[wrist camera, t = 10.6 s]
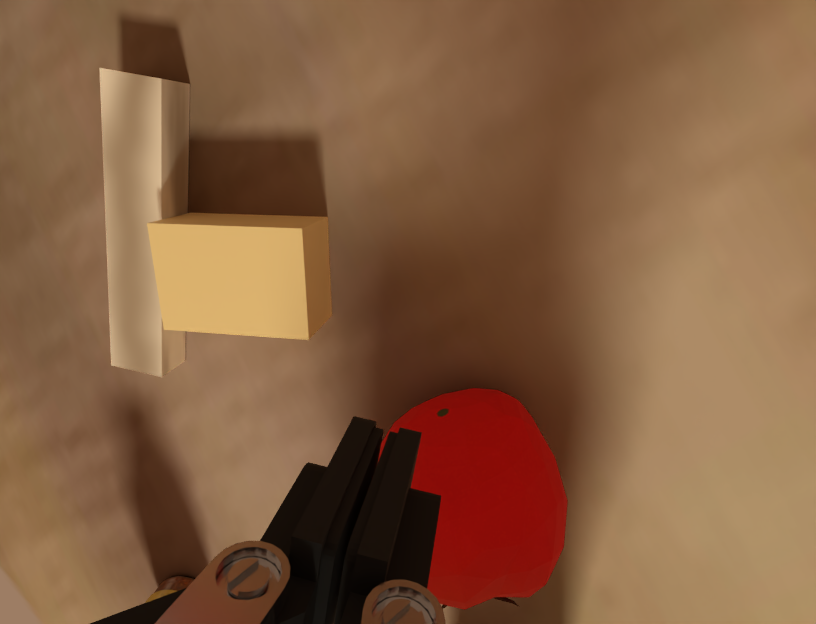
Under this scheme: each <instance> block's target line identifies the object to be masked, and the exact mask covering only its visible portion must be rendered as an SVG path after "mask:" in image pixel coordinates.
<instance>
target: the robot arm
mask: <svg viewBox="0 0 816 624" xmlns="http://www.w3.org/2000/svg"><path fill="white" fill-rule="evenodd" d="M421 435H422V432H418V431H414V430H409V429H405V428H401V427H400V428H399V431H398V433H396V432H391V431H390V432H389V435H388V437H387V440H386V443H385V445H384V448H383V451H382V454H381V456H380V459H379V454H380V448H381V442H382V437H383V429H379V428H376V421H372V420H367V419H363V418H359V417H353V419H352V421H351V423H350V425H349V427H348V429H347V430H346V432H345V434H344V436H343V438H342V440H341V442H340V444H339V446H338V448H337V450H336V452H335V454H334V455H333V457H332V459H331V461H330V463H329V465H328V467H325V466H321V465H317V464H313V463H309V462H308V463H307V464H306V465H305V466H304V468H303V469H302V471H301V473H300V474H299V476H298V478H297V479H296V481H295V483H294V484H293V486H292V488H291V489H290V491H289V493H288V495H287V496H286V498H285V500H284V501H283V503H282V505H281V506H280V508H279V510H278V511H277V513H276V515H275V516H274V518H273V520H272V522H271V523H270V525H269V527H268V528H267V530H266V532H265V533H264V535H263V537H262V538H261V540H260V541H245V542H241V543H236V544H234V545H232V546H230V547H228V548H226V549H224V550H223V551H222V552H220V553H219V554H218V555H217V556H216V557H215V558H214V559H213V560H212V561H211V562H210V563H209V564H208V565H207V566H206V567H205V569H204V570H203V571H202V572H201V573H200V574H199V575H198V576H197V577H196V579H195V580H194V581H193V582H192V583H191V584H190V585H189V586H188V587H187V588H184V589H182V590H179V591H176V592H174V593H171V594H168V595H166V596H163V597H160V598H158V599H155V600H152V601H150V602H147V603H144V604H141V605H139V606H136V607H133V608H131V609H128V610H125V611H123V612H120V613H117V614H115V615H112V616H109V617H107V618H104V619H101V620H99V621H96V622H93V623H90V624H446V623H445V617H444V612H443V608H442V606H441V605H440V603H439V601H438V599H437V598H436V597H435V596H434V595H433V594H432V593H431V592H430V591H429V590H428V589H427V587H428V580H429V574H430V567H431V561H432V555H433V548H434V542H435V535H436V529H437V523H438V516H439V510H440V503H441V495H437V494H433V493H429V492H425V491H421V490H417V489H413V488H411V484H412V479H413V474H414V469H415V464H416V459H417V455H418V450H419V445H420V440H421ZM378 460H379V462H378Z"/></svg>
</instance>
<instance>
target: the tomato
mask: <svg viewBox="0 0 816 624" xmlns="http://www.w3.org/2000/svg"><path fill="white" fill-rule="evenodd" d="M400 427H401V428H405V429H409V430H414V431H418V432H422V435H421V440H420V445H419V450H418V455H417V459H416V464H415V469H414V474H413V479H412V484H411V488H413V489H417V490H421V491H425V492H429V493H433V494H437V495H441V503H440V510H439V516H438V523H437V529H436V535H435V542H434V548H433V555H432V561H431V567H430V574H429V580H428V587H427V589H428V590H429V591H430V592H431V593H432V594H433V595H434V596H435V597H436V598H437V599H438V601H439V603H440V604H443V606H442V608H445V607H446V606H452V607H456V608H460V609H464V610H465V609H468V608H470V607H472V606H475V605H477V604H480V603H482V602H484V601H487V600H489V599H492V598H495V599H498V600H502V601H506V602H510V603H513V604H515V605H517V604H516V603H515V602H514V601H513V600H510V599H508V598H506V597H530V596H531V595H533V594H534V593H535V592H537V591H538V590H539V589H541V588H542V587H543V586H545V585H546V583H547V581H548V579H549V578H550V576H551V574H552V572H553V569H554V567H555V565H556V563H557V561H558V558H559V556H560V554H561V552H562V550H563V547H564V538H565V526H566V514H567V497H566V494H565V490H564V487H563V484H562V480H561V477H560V473H559V470H558V466H557V463H556V459H555V457H554V455H553V453H552V452H551V450H550V448H549V446H548V444H547V443H546V441H545V439H544V437H543V436H542V434H541V432H540V430H539V429H538V427H537V425H536V423H535V422H534V420H533V418H532V416H531V415H530V414H529V413H528V411H527V410H526V409H525V407H524V406H523V405H522V404H521V402H519V401H518V400H517V399H515V398H514V397H512V396H510V395H508V394H506V393H503V392H501V391H499V390H492V389H481V388H471V389H466V390H461V391H456V392H451V393H446V394H442V395H439V396H437V397H435V398H432V399H430V400H428V401H426V402H424V403H422V404H420V405H418V406H416V407H413V408H412V409H410V410H409V411H408V412H407V413H405V414H404V415H403V416H402V417H400V418H399V419H398V420H397V421H395V422H394V424H393V425H392V427H391V428H390V430H389V432H390V431H391V432H396V433H398V431H399V428H400ZM389 432H388V433H387V435H386V436H385V438H384V439H383V441H382V443H381V448H380V454H379V459H380V456H381V454H382V451H383V448H384V445H385V443H386V440H387V437H388V435H389ZM378 462H379V460H378ZM517 606H518V605H517Z"/></svg>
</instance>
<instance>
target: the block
mask: <svg viewBox="0 0 816 624" xmlns="http://www.w3.org/2000/svg"><path fill="white" fill-rule="evenodd" d="M147 227H148V234H149V240H150V246H151V252H152V259H153V265H154V271H155V278H156V284H157V290H158V297H159V303H160V309H161V315H162V322H163V328H164V330H175V331H190V332H204V333H218V334H232V335H247V336H261V337H275V338H290V339H304V340H309V339H310V338H311V337H312V336H313V335H314V334H315V333H316V332H317V331H318V330H319V329H320V328H321V326H322V325H323V324H324V323H325V322H326V321H327V320H328V319H329V318H330V317H331V316H332V303H331V280H330V258H329V235H328V217H316V216H283V215H250V214H216V213H187V214H183V215H179V216H175V217H171V218H166V219H162V220H158V221H154V222H150V223H147Z"/></svg>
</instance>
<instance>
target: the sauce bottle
mask: <svg viewBox="0 0 816 624" xmlns="http://www.w3.org/2000/svg"><path fill="white" fill-rule="evenodd" d="M194 580H195V579H192V578H189V577H182V576H176V577H171V578H169V579H166V580H165V581H163V582H162V583H161V584H160V586H159V587H158V588H157V590H156V591H155V592H154V594H152V595H151V596H150V597H149V598H148V600H147V601H146V602H145V603H147V602H150V601H152V600H155V599H158V598H160V597H163V596H166V595H168V594H171V593H174V592H176V591H179V590H182V589H184V588H187V587H188V586H189V585H190V584H191V583H192V582H193V581H194Z"/></svg>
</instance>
